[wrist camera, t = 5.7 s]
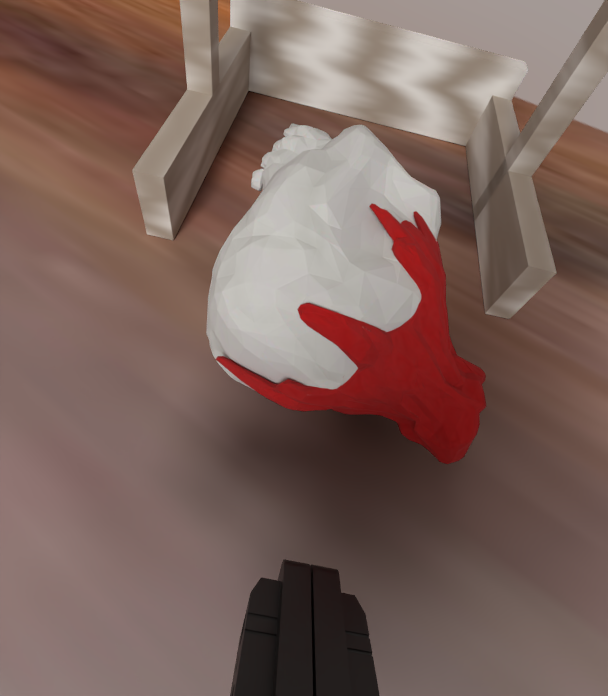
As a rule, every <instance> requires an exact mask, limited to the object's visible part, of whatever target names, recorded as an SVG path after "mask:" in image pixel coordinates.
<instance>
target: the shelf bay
mask: <svg viewBox="0 0 608 696" xmlns="http://www.w3.org/2000/svg"><path fill="white" fill-rule="evenodd" d="M180 8H181V19H182V31H183V43H184V55H185V66H186V78H187V91H186V92H185V94H184V95H183V97H182V98H181V100H180V101H179V103H178V104H177V105H176V107H175V108H174V110H173V111H172V113H171V114H170V116H169V117H168V119H167V120H166V122H165V123H164V124H163V126H162V127H161V129H160V130H159V132H158V133H157V135H156V136H155V138H154V139H153V141H152V142H151V143H150V145H149V146H148V148H147V149H146V151H145V152H144V154H143V155H142V157H141V158H140V160H139V161H138V163H137V164H136V165H135V167H134V168H133V170H132V171H133V176H134V180H135V184H136V189H137V193H138V197H139V202H140V206H141V210H142V214H143V219H144V223H145V227H146V232H147V234H149V235H153V236H157V237H161V238H166V239H170V240H174V238H175V236H176V234H177V232H178V230H179V228H180V226H181V224H182V222H183V220H184V218H185V216H186V214H187V212H188V210H189V208H190V206H191V204H192V202H193V200H194V198H195V196H196V194H197V192H198V190H199V188H200V186H201V184H202V182H203V180H204V178H205V176H206V174H207V172H208V170H209V168H210V166H211V164H212V163H213V161H214V159H215V157H216V155H217V153H218V151H219V149H220V147H221V145H222V143H223V141H224V139H225V137H226V135H227V133H228V131H229V129H230V127H231V125H232V123H233V121H234V119H235V117H236V115H237V113H238V111H239V109H240V107H241V105H242V103H243V101H244V99H245V97H246V95H247V93H248V91H252V92H256V93H260V94H264V95H268V96H271V97H275V98H279V99H283V100H287V101H291V102H295V103H299V104H303V105H307V106H311V107H315V108H319V109H322V110H326V111H330V112H334V113H338V114H342V115H346V116H350V117H354V118H358V119H362V120H366V121H369V122H373V123H377V124H381V125H385V126H389V127H393V128H397V129H401V130H405V131H409V132H413V133H416V134H420V135H424V136H428V137H432V138H436V139H440V140H444V141H448V142H452V143H456V144H460V145H463V146H466V154H467V163H468V171H469V180H470V189H471V197H472V206H473V214H474V223H475V231H476V240H477V249H478V257H479V266H480V274H481V283H482V292H483V300H484V309H485V314H490V315H494V316H498V317H502V318H507V319H510V318H511V317H512V316H513V315H514V314H515V313H516V312H517V311H518V310H519V309H520V308H521V307H522V306H523V305H524V304H525V303H526V302H527V301H528V300H529V299H530V298H531V297H532V296H534V295H535V294H536V293H537V292H538V291H539V290H540V289H541V288H542V287H543V286H544V285H545V284H546V283H547V282H548V281H549V280H550V279H551V278H552V277H553V276H554V275H555V274H556V273H557V272H556V268H555V265H554V261H553V257H552V253H551V249H550V246H549V242H548V238H547V234H546V230H545V227H544V223H543V219H542V215H541V211H540V207H539V204H538V200H537V196H536V192H535V188H534V185H533V181H532V177H531V176H532V175H533V174H534V172H535V171H536V170H537V168H538V167H539V165H540V164H541V163H542V161H543V160H544V159H545V157H546V156H547V154H548V153H549V152H550V150H551V149H552V148H553V146H554V145H555V143H556V142H557V141H558V139H559V138H560V137H561V135H562V134H563V132H564V131H565V130H566V128H567V127H568V126H569V124H570V123H571V121H572V120H573V119H574V117H575V116H576V115H577V113H578V112H579V110H580V109H581V108H582V106H583V105H584V103H585V102H586V101H587V99H588V98H589V97H590V95H591V94H592V93H593V91H594V90H595V88H596V87H597V85H598V84H599V83H600V81H601V80H602V79H603V77H604V76H605V75H606V73H607V72H608V0H605V1H604V2H603V4H602V6H601V7H600V9H599V10H598V12H597V14H596V15H595V17H594V19H593V20H592V21H591V23H590V25H589V26H588V28H587V30H586V31H585V32H584V34H583V36H582V37H581V39H580V40H579V42H578V44H577V45H576V47H575V48H574V50H573V51H572V53H571V55H570V56H569V58H568V59H567V61H566V63H565V64H564V66H563V67H562V69H561V70H560V72H559V73H558V75H557V77H556V78H555V80H554V81H553V83H552V85H551V86H550V88H549V89H548V91H547V92H546V94H545V95H544V97H543V99H542V100H541V102H540V103H539V105H538V107H537V108H536V110H535V111H534V113H533V114H532V116H531V118H530V119H529V121H528V122H527V124H526V125H525V127H524V129H523V130H522V132H521V133H520V131H519V127H518V124H517V120H516V116H515V112H514V108H513V105H512V101H511V100H512V98H513V97H514V95H515V93H516V91H517V90H518V88H519V86H520V84H521V82H522V81H523V79H524V77H525V76H526V74H527V72H528V68H527V65H526V63H525V61H521V60H517V59H514V58H510V57H506V56H502V55H499V54H495V53H491V52H488V51H484V50H480V49H476V48H473V47H469V46H465V45H461V44H458V43H454V42H450V41H446V40H443V39H439V38H435V37H431V36H428V35H424V34H420V33H417V32H413V31H409V30H405V29H402V28H398V27H394V26H391V25H387V24H383V23H379V22H375V21H371V20H368V19H364V18H360V17H357V16H353V15H349V14H346V13H342V12H338V11H335V10H331V9H327V8H323V7H320V6H316V5H312V4H308V3H305V2H301V1H297V0H230V28H229V29H228V31H227V32H226V34H225V35H224V37H223V38H222V40H221V41H220V43H219V41H218V0H180Z"/></svg>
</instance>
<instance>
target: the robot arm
mask: <svg viewBox="0 0 608 696" xmlns="http://www.w3.org/2000/svg"><path fill="white" fill-rule="evenodd" d="M230 696H379V690H378V684H377V678H376V673H375V667H374V661H373V657H372V649H371V644H370V639H369V632H368V626H367V620H366V615H365V613H364V611H363V609H362V607H361V605H360V604H359V602H358V600H357V598H356V597H355V595H350V594H345V593H341V588H340V579H339V572H338V570H336V569H331V568H326V567H321V566H316V565H311V566H310V565H309V564H305V563H300V562H295V561H289V560H283V562H282V565H281V569H280V573H279V577H278V581H276V580H271V579H266V578H261V579H260V580H259V581H258V583H257V584H256V586H255V587H254V589H253V590H252V591H251V593H250V598H249V602H248V606H247V610H246V615H245V619H244V623H243V627H242V632H241V636H240V641H239V647H238V652H237V658H236V664H235V670H234V676H233V682H232V687H231V693H230Z"/></svg>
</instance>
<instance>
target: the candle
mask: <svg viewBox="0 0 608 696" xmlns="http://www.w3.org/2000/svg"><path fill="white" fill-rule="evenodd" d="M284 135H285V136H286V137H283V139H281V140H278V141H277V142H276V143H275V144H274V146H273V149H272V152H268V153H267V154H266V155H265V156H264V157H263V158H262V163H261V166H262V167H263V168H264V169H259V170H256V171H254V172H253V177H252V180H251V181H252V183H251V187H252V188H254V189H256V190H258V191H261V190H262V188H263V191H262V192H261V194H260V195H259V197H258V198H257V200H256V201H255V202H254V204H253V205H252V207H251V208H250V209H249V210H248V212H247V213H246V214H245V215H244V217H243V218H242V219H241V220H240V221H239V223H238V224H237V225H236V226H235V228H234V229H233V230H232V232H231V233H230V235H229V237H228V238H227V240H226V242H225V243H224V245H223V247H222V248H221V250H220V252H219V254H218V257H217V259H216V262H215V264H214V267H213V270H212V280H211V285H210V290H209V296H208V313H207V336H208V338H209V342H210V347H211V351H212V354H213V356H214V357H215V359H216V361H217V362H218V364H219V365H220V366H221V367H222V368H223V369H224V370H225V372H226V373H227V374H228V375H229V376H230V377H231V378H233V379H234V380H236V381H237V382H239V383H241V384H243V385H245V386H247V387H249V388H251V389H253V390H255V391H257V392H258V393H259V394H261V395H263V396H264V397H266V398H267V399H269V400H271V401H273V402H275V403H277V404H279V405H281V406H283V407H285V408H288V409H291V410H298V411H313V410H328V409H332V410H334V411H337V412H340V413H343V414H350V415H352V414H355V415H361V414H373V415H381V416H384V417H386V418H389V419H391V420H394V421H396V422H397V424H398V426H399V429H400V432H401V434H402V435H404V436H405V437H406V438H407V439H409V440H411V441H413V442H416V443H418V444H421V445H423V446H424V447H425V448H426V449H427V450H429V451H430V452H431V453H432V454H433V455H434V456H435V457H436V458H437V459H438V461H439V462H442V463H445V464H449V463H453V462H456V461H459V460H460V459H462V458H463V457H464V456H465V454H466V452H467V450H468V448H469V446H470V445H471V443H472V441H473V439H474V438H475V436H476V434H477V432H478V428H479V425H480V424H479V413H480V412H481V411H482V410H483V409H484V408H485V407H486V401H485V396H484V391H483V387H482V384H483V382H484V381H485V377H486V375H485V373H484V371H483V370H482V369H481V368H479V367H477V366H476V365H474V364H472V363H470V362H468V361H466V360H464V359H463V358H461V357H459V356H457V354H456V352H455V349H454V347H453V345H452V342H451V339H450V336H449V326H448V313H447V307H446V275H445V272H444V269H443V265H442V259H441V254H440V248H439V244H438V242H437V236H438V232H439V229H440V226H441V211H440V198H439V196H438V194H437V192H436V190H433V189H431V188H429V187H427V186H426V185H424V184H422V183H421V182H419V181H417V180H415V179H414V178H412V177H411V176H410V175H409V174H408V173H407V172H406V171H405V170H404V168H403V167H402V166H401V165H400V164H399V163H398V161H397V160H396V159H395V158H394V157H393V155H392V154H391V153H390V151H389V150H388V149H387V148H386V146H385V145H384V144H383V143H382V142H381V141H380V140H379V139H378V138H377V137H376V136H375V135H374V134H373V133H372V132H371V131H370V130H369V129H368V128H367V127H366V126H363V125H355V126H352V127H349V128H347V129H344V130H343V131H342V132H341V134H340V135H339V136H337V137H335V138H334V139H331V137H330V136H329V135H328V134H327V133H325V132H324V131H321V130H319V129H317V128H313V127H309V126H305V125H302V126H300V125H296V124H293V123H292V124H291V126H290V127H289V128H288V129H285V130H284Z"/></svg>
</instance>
